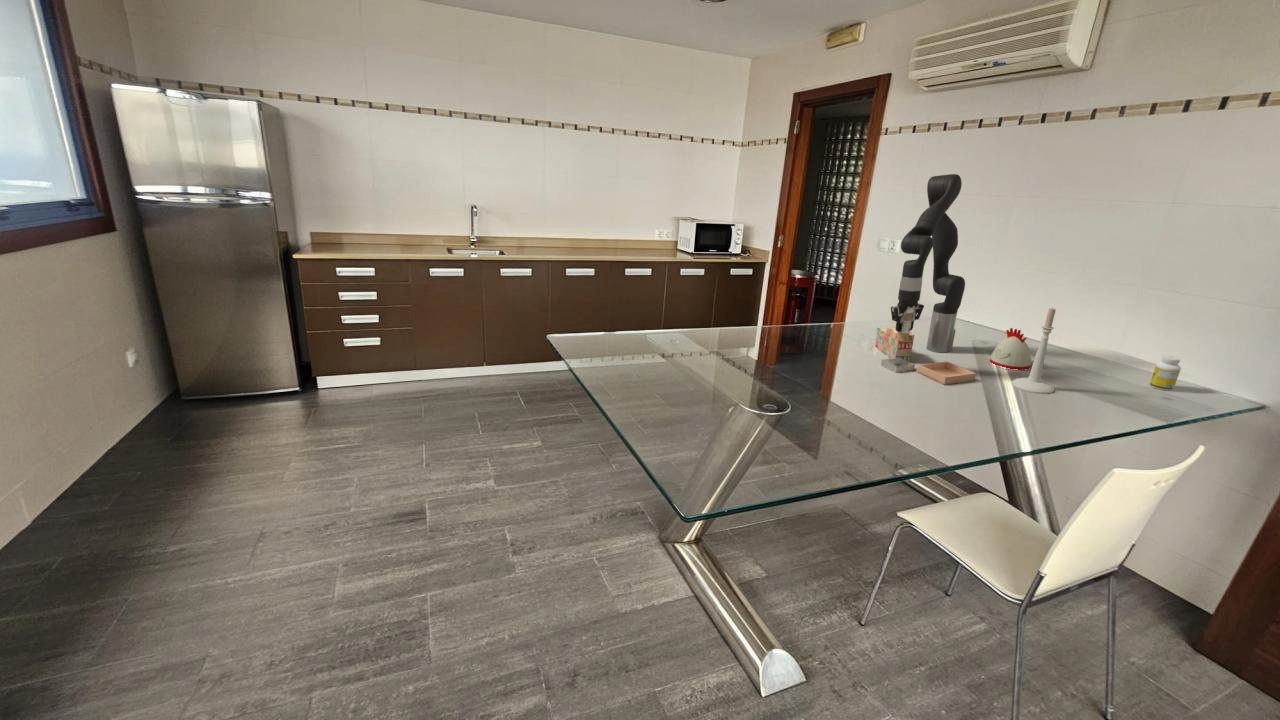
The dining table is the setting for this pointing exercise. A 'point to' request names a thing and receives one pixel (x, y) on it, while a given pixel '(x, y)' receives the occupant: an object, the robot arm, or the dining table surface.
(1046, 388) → the candlestick
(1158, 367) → the pill bottle
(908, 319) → the sprinkles bottle
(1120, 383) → the dining table surface
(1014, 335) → the kitchen timer
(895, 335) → the colourful printed box
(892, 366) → the grey flat square frame
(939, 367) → the tray
